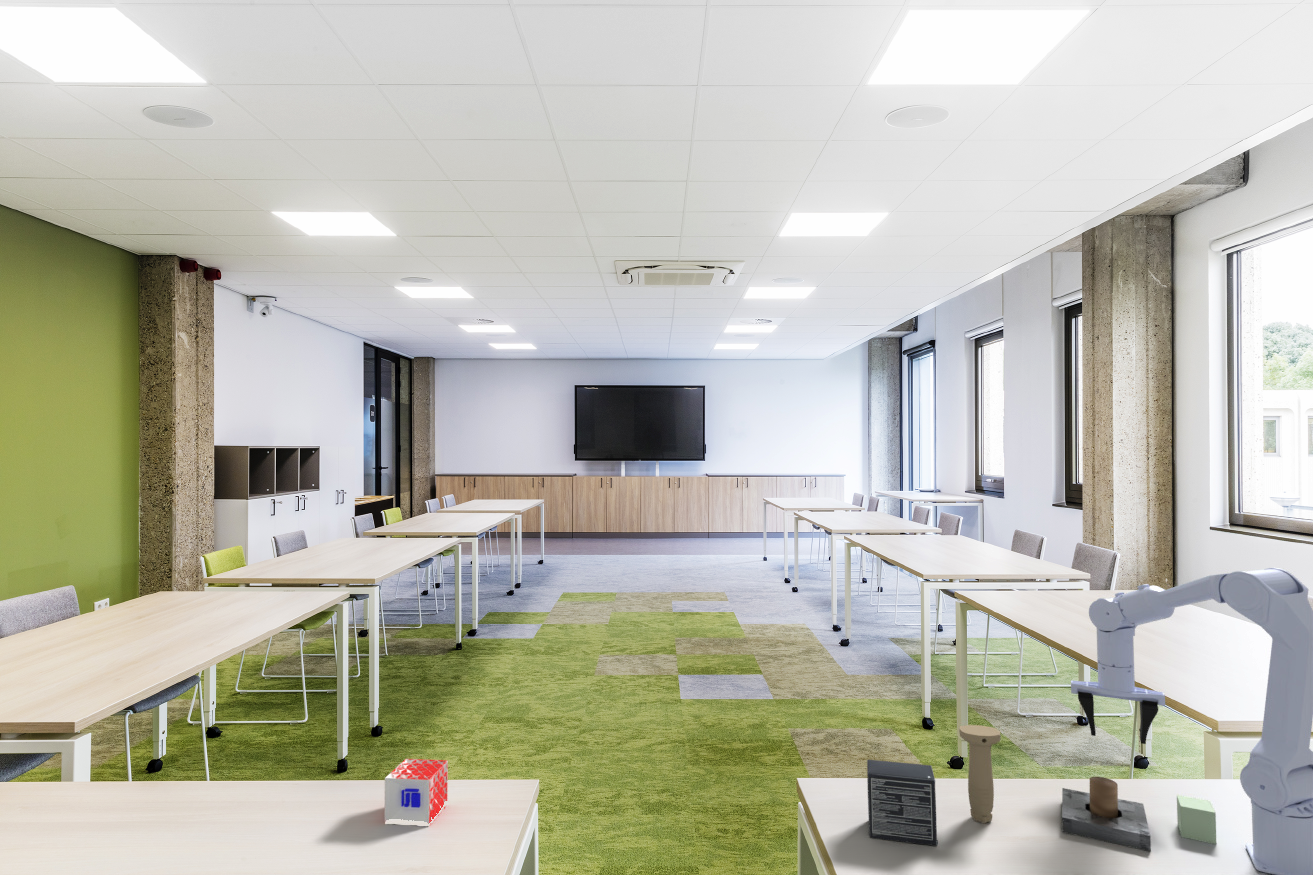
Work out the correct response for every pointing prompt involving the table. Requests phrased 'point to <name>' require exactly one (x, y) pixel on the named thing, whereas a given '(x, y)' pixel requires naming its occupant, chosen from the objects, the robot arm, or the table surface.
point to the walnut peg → (1103, 797)
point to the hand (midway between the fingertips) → (1117, 737)
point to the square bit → (1196, 819)
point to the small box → (902, 802)
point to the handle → (980, 769)
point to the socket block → (1105, 821)
